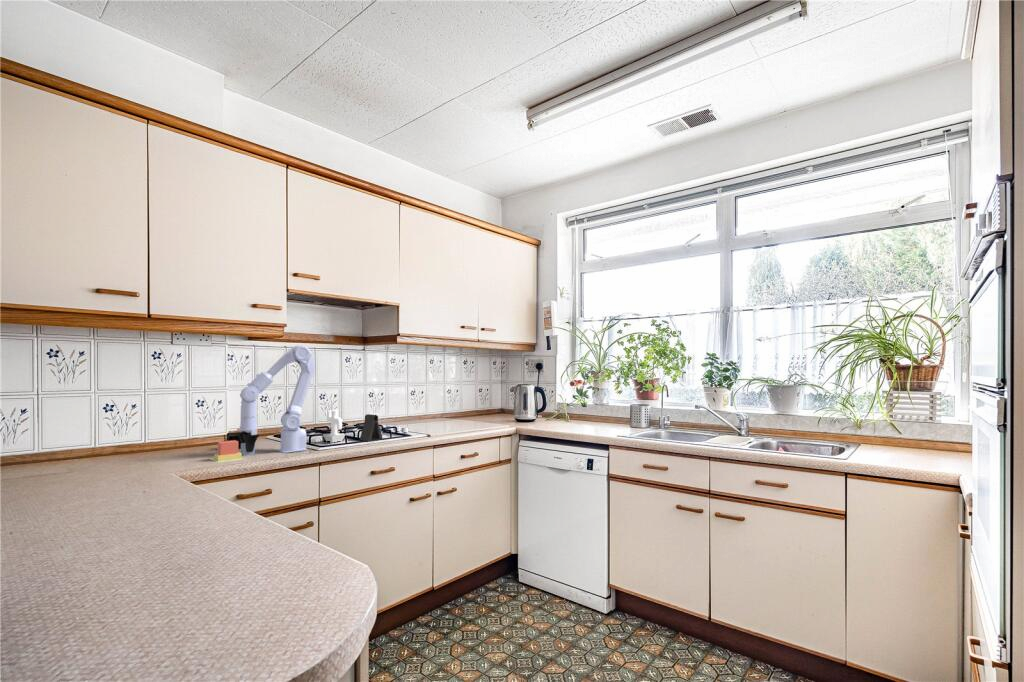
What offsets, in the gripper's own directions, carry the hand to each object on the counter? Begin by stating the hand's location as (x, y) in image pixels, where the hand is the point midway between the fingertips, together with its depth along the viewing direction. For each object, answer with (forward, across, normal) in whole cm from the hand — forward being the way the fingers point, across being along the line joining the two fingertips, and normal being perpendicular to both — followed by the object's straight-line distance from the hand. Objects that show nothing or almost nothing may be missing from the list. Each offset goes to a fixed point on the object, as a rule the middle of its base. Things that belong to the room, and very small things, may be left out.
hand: (247, 451), depth 202 cm
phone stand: (+2, 0, +54) cm, 55 cm away
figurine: (+2, -5, +38) cm, 39 cm away
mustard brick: (+1, +5, -8) cm, 10 cm away
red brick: (-1, +5, -9) cm, 10 cm away
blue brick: (+2, 0, 0) cm, 2 cm away
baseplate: (+1, +5, -8) cm, 10 cm away
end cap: (+2, -18, +2) cm, 18 cm away
